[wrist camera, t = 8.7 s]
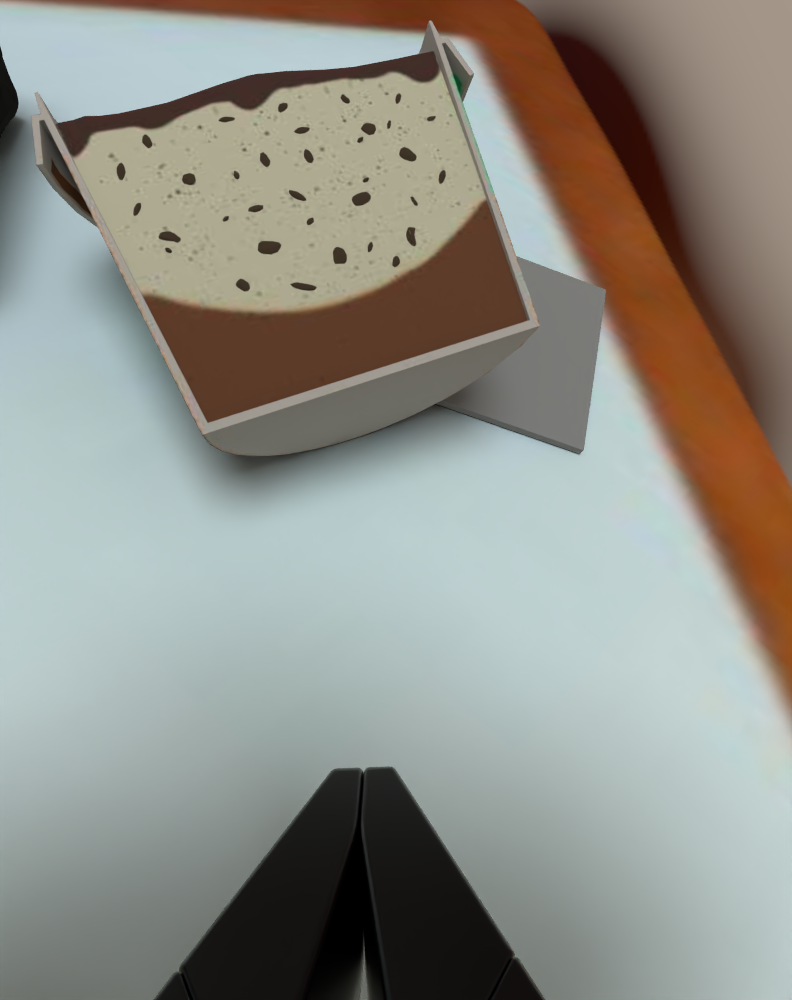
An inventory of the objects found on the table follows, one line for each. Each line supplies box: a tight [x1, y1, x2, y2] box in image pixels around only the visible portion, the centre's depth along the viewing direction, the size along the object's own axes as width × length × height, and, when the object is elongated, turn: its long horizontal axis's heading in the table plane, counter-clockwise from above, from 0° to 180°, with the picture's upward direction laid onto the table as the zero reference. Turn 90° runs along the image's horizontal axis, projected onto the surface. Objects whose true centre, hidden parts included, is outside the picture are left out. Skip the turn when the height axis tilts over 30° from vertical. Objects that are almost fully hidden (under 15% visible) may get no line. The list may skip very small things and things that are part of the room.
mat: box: [436, 256, 606, 454], centre depth 22 cm, size 8×12×1 cm, turn 75°
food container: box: [31, 21, 540, 456], centre depth 18 cm, size 12×6×10 cm
